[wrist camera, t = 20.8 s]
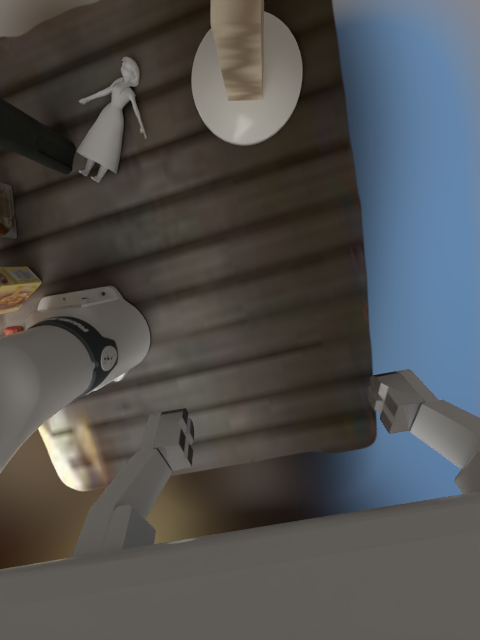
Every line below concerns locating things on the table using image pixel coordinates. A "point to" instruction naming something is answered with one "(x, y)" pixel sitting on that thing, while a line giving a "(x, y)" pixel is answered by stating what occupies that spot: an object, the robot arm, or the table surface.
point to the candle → (34, 139)
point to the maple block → (240, 46)
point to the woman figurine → (110, 123)
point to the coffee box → (7, 212)
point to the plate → (249, 115)
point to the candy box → (16, 287)
